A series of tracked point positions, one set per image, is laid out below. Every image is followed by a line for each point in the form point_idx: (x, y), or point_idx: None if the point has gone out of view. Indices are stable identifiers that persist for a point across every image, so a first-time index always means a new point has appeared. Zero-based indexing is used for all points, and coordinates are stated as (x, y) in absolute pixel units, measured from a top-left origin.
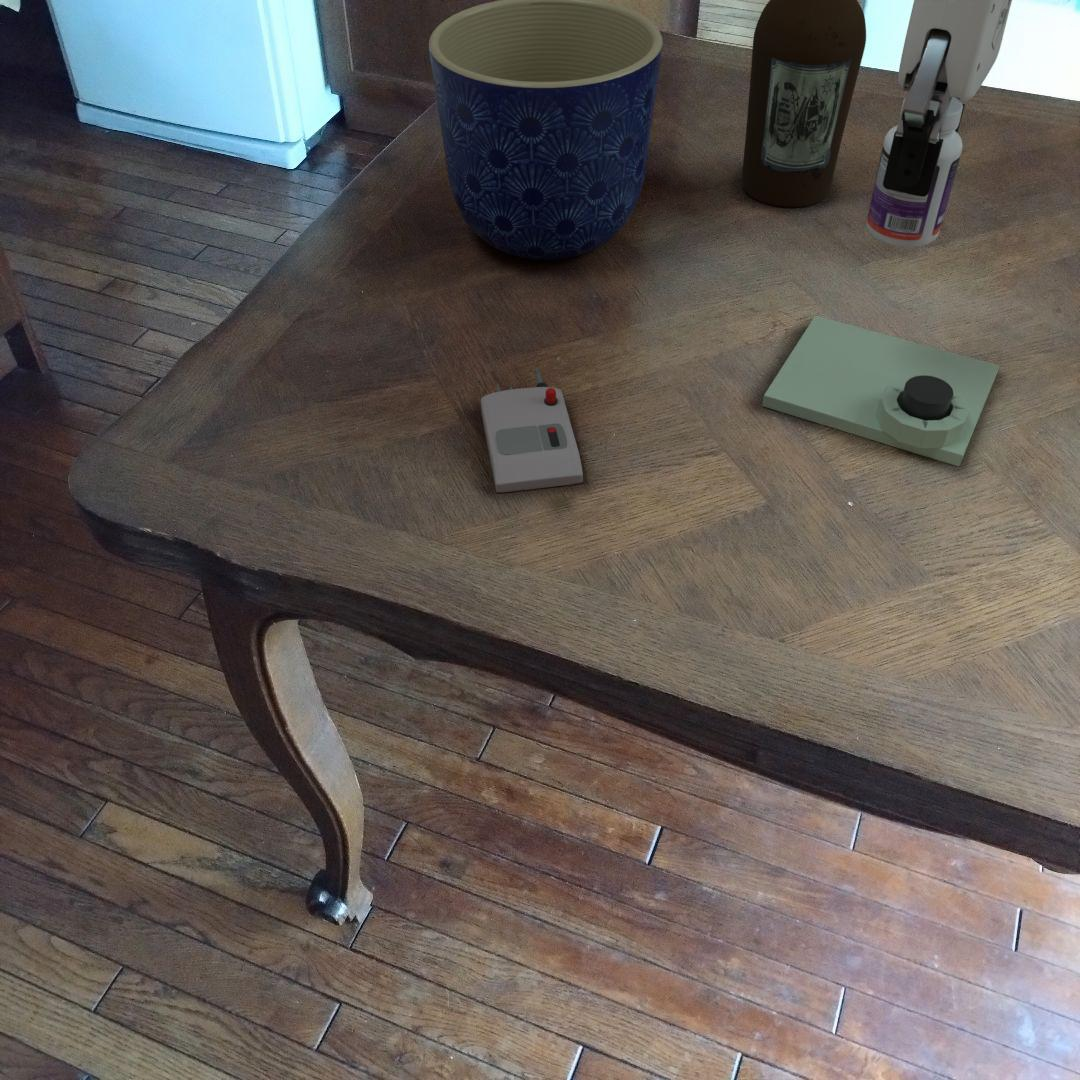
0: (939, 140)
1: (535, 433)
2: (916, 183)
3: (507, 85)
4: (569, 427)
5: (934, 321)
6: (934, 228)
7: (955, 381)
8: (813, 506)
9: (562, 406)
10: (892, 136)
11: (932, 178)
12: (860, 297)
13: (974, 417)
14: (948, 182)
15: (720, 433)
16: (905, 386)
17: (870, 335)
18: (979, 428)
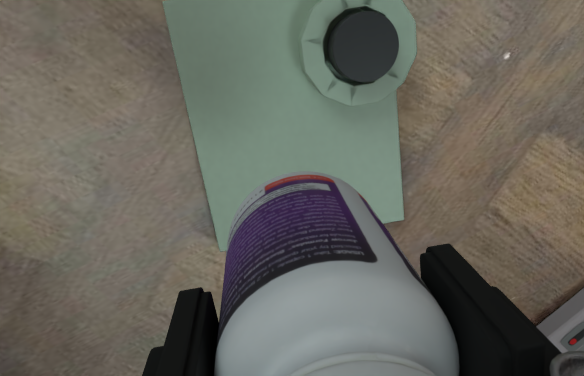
0: (530, 356)
1: (582, 348)
2: (496, 287)
3: None
4: (557, 332)
5: (99, 129)
6: (333, 183)
7: (240, 41)
8: (528, 87)
9: None
10: None
11: (465, 266)
12: (119, 230)
13: None
14: (351, 229)
15: (462, 223)
16: (376, 78)
17: (216, 179)
18: None
